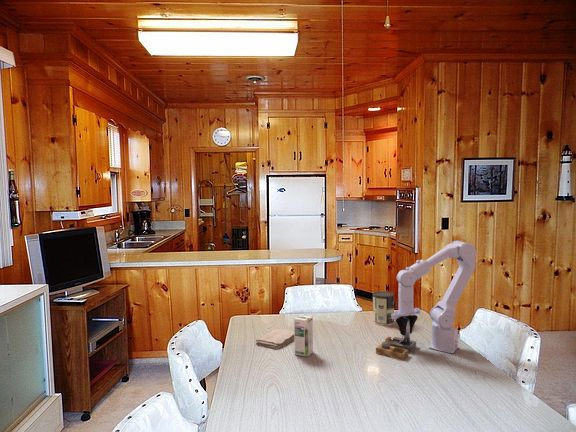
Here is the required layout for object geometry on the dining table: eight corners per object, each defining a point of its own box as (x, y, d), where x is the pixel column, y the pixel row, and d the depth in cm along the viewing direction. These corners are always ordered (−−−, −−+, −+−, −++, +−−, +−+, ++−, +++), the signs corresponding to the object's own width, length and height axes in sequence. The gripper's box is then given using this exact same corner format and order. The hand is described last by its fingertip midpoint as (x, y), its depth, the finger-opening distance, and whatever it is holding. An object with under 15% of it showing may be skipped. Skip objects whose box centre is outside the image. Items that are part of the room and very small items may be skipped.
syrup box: (294, 354, 150) (293, 318, 150) (300, 349, 156) (300, 314, 155) (307, 357, 148) (306, 320, 147) (313, 351, 153) (313, 316, 152)
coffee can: (391, 318, 192) (391, 291, 192) (396, 325, 182) (396, 296, 181) (370, 319, 193) (370, 291, 192) (375, 325, 182) (374, 296, 182)
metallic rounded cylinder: (411, 340, 155) (411, 318, 155) (408, 343, 153) (408, 320, 152) (403, 339, 157) (403, 317, 156) (401, 341, 154) (400, 319, 154)
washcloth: (254, 345, 161) (254, 338, 161) (277, 332, 177) (276, 325, 177) (278, 351, 155) (278, 343, 155) (299, 336, 171) (299, 330, 171)
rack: (408, 355, 148) (408, 345, 148) (403, 360, 144) (403, 349, 144) (381, 349, 154) (381, 339, 154) (375, 353, 151) (375, 343, 150)
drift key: (399, 345, 158) (399, 339, 158) (396, 347, 156) (396, 341, 156) (388, 342, 161) (388, 336, 161) (385, 345, 159) (385, 338, 158)
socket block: (416, 346, 156) (416, 341, 156) (409, 353, 150) (409, 347, 150) (395, 341, 162) (395, 336, 162) (387, 348, 156) (387, 342, 155)
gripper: (400, 305, 147) (400, 340, 147) (426, 299, 154) (426, 333, 155) (387, 301, 153) (387, 335, 154) (412, 296, 160) (412, 328, 161)
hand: (406, 333), depth 155 cm, fingers closed on metallic rounded cylinder, 3 cm apart
